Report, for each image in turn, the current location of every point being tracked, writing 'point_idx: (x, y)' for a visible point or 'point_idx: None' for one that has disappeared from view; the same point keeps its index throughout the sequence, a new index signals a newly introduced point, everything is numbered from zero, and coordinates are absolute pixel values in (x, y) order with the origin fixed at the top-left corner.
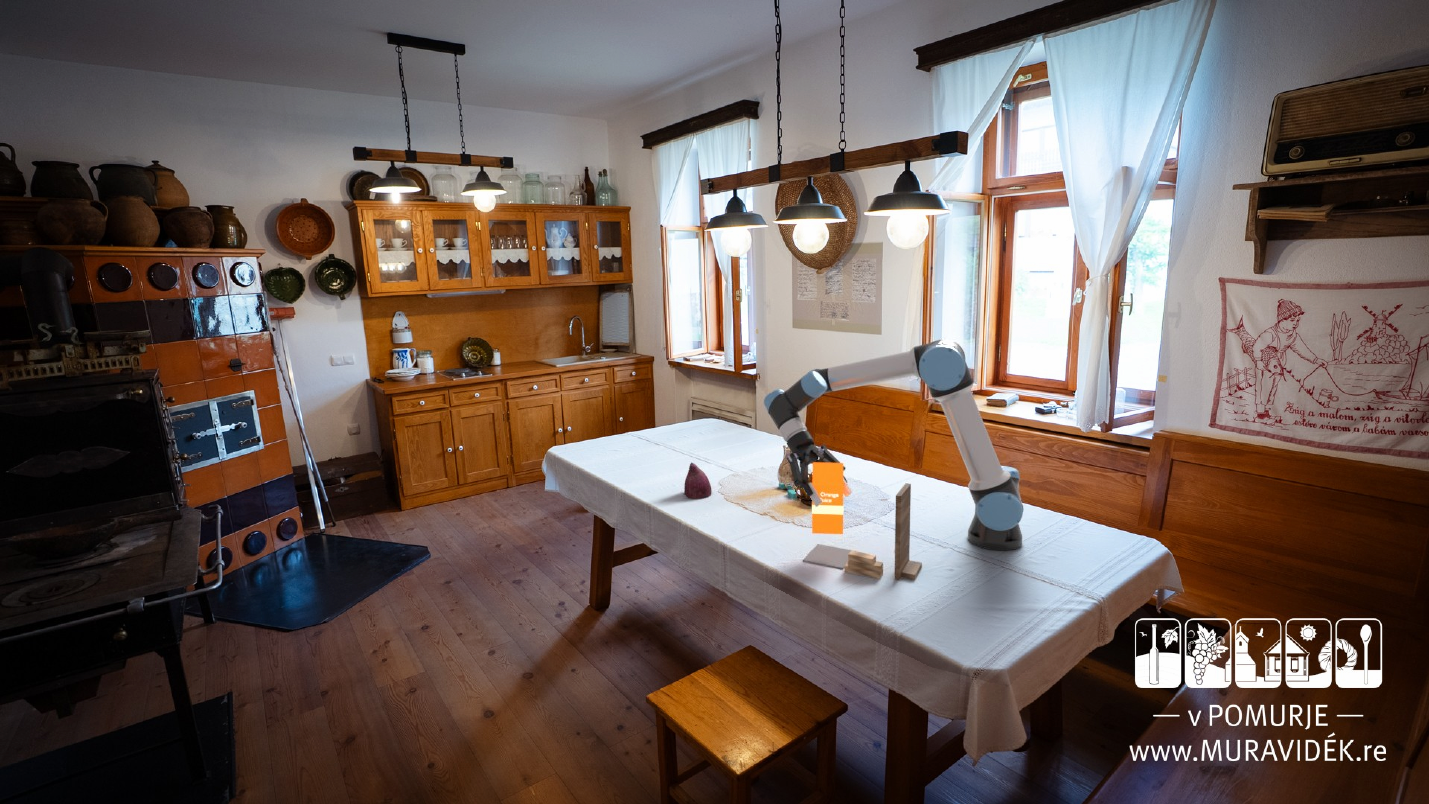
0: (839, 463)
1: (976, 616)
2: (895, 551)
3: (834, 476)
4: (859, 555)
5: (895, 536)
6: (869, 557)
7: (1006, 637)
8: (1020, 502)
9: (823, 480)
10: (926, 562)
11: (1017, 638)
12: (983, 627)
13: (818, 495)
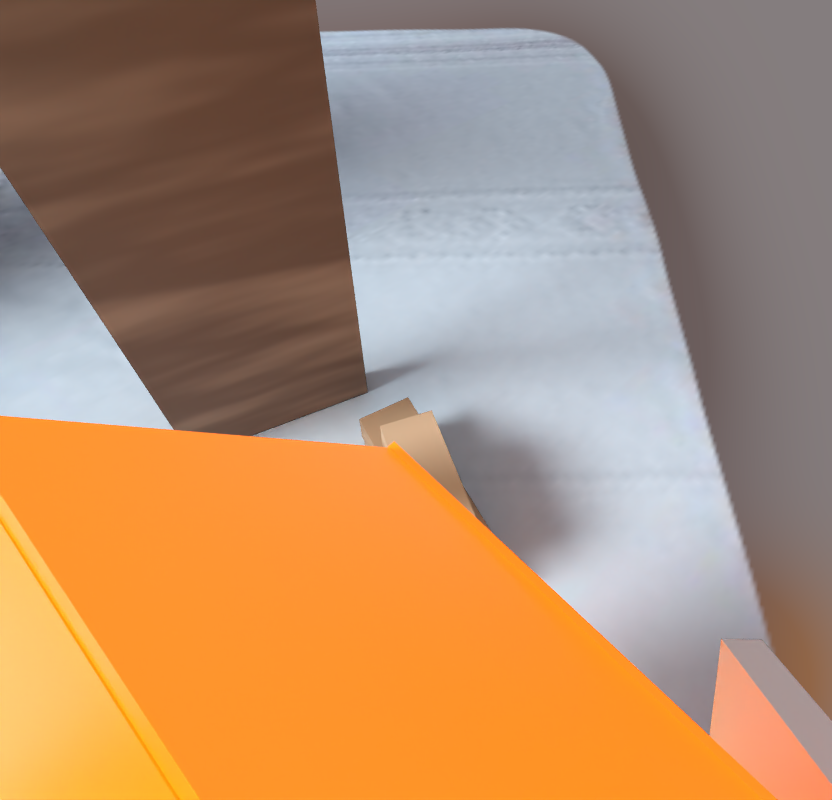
0: (10, 515)
1: (383, 130)
2: (354, 297)
3: (433, 584)
4: (450, 484)
5: (344, 233)
6: (425, 434)
7: (419, 62)
8: None
9: (687, 781)
10: (114, 402)
11: (403, 51)
12: (421, 102)
13: (788, 719)
